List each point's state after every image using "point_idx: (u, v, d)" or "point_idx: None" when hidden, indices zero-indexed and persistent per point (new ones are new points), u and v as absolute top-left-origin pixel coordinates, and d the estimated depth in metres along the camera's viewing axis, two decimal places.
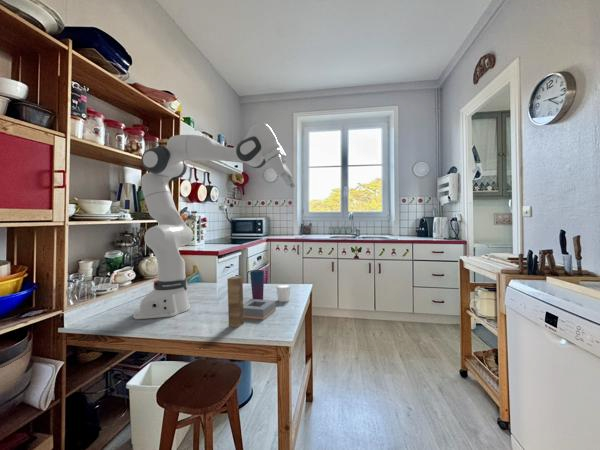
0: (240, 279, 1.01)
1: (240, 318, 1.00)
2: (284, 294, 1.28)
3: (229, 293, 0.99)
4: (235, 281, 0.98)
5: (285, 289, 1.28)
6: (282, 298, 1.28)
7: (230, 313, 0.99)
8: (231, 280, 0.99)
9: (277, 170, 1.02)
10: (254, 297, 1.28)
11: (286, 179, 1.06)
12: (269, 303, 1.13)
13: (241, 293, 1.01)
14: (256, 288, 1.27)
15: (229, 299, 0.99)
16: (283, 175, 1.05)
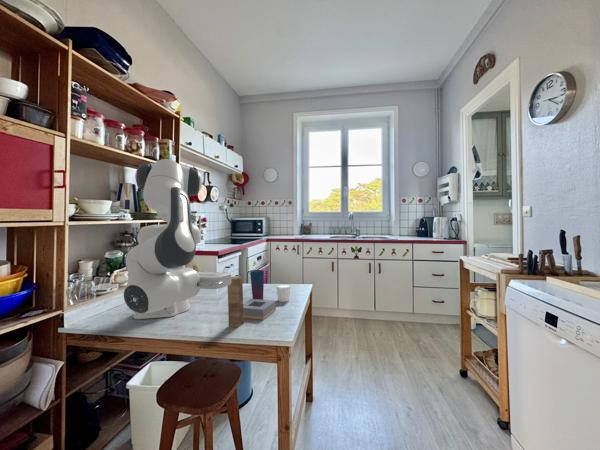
0: (240, 279, 1.01)
1: (240, 318, 1.00)
2: (284, 294, 1.28)
3: (229, 293, 0.99)
4: (235, 281, 0.98)
5: (285, 289, 1.28)
6: (282, 298, 1.28)
7: (230, 313, 0.99)
8: (231, 280, 0.99)
9: None
10: (254, 297, 1.28)
11: None
12: (269, 303, 1.13)
13: (241, 293, 1.01)
14: (256, 288, 1.27)
15: (229, 299, 0.99)
16: None
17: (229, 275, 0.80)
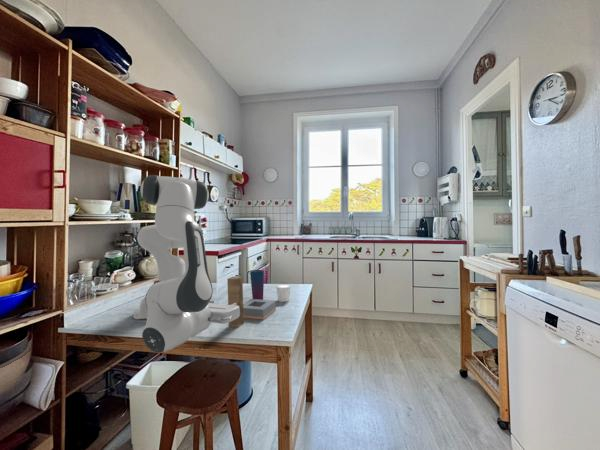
0: (240, 279, 1.01)
1: (240, 318, 1.00)
2: (284, 294, 1.28)
3: (229, 293, 0.99)
4: (235, 281, 0.98)
5: (285, 289, 1.28)
6: (282, 298, 1.28)
7: None
8: (231, 280, 0.99)
9: None
10: (254, 297, 1.28)
11: None
12: (269, 303, 1.13)
13: (241, 293, 1.01)
14: (256, 288, 1.27)
15: (229, 299, 0.99)
16: None
17: (238, 308, 0.84)
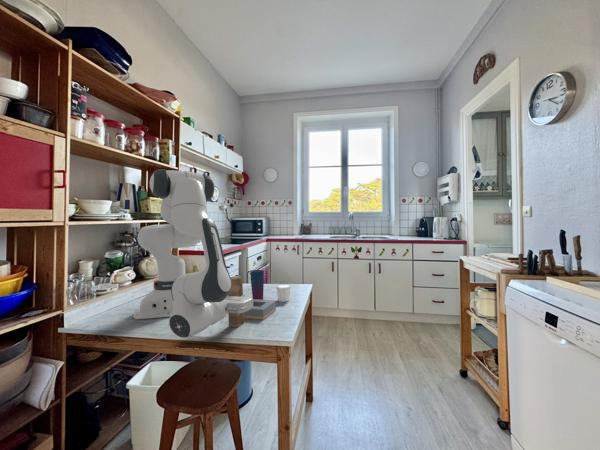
0: (240, 279, 1.01)
1: (240, 318, 1.00)
2: (284, 294, 1.28)
3: (229, 293, 0.99)
4: (235, 281, 0.98)
5: (285, 289, 1.28)
6: (282, 298, 1.28)
7: (230, 313, 0.99)
8: (231, 280, 0.99)
9: None
10: (254, 297, 1.28)
11: None
12: (269, 303, 1.13)
13: (241, 293, 1.01)
14: (256, 288, 1.27)
15: None
16: None
17: (251, 300, 0.92)
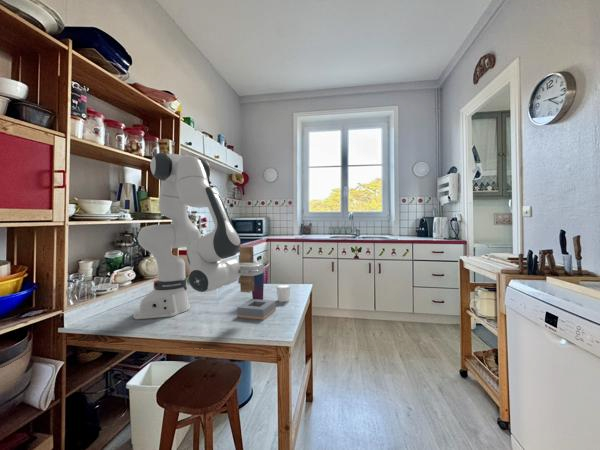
0: (251, 248, 1.07)
1: (251, 284, 1.07)
2: (284, 294, 1.28)
3: (241, 261, 1.06)
4: (247, 249, 1.05)
5: (285, 289, 1.28)
6: (282, 298, 1.28)
7: (242, 279, 1.06)
8: (243, 248, 1.05)
9: None
10: (254, 297, 1.28)
11: None
12: (269, 303, 1.13)
13: (252, 261, 1.08)
14: (256, 288, 1.27)
15: None
16: None
17: (262, 265, 0.99)
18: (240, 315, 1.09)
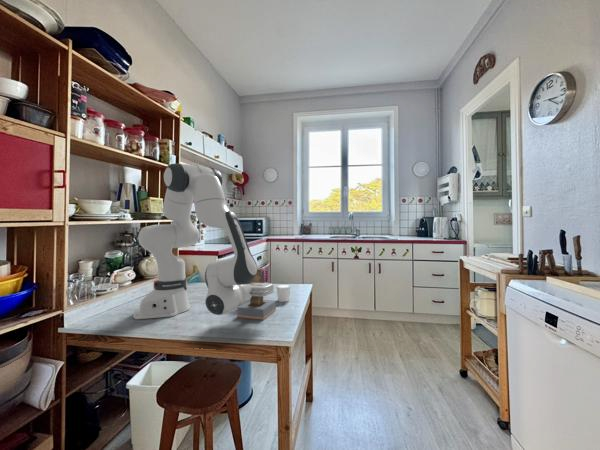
0: (260, 270, 1.13)
1: (260, 304, 1.12)
2: (284, 294, 1.28)
3: None
4: None
5: (285, 289, 1.28)
6: (282, 298, 1.28)
7: (252, 300, 1.11)
8: None
9: None
10: None
11: None
12: (269, 303, 1.13)
13: None
14: None
15: None
16: None
17: (272, 285, 1.04)
18: (240, 315, 1.09)
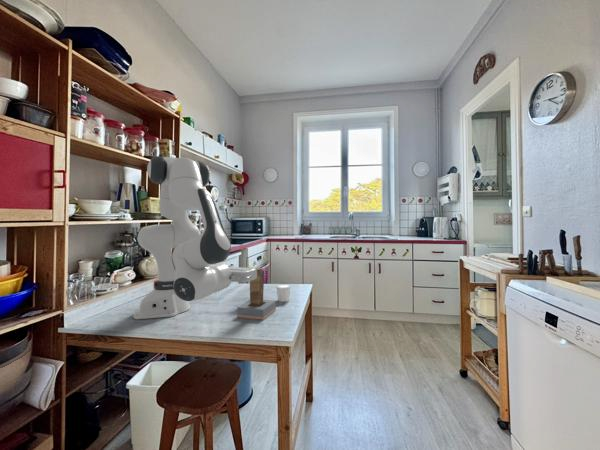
0: (260, 270, 1.13)
1: (260, 304, 1.12)
2: (284, 294, 1.28)
3: (251, 282, 1.11)
4: None
5: (285, 289, 1.28)
6: (282, 298, 1.28)
7: (252, 300, 1.11)
8: None
9: None
10: None
11: None
12: (269, 303, 1.13)
13: (261, 283, 1.13)
14: None
15: (251, 288, 1.11)
16: None
17: (255, 270, 0.92)
18: (240, 315, 1.09)
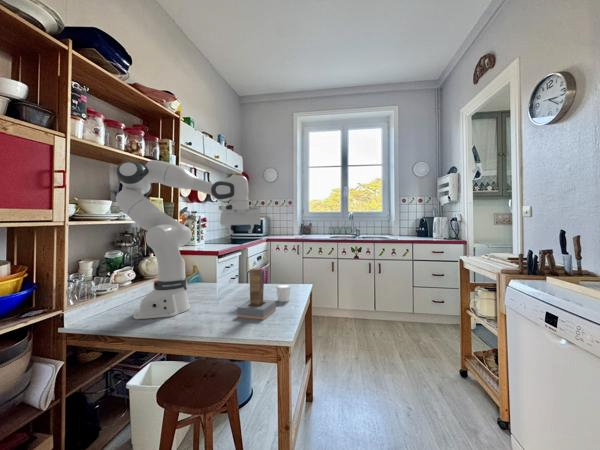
0: (260, 270, 1.13)
1: (260, 304, 1.12)
2: (284, 294, 1.28)
3: (251, 282, 1.11)
4: (256, 272, 1.10)
5: (285, 289, 1.28)
6: (282, 298, 1.28)
7: (252, 300, 1.11)
8: (253, 271, 1.11)
9: None
10: None
11: (229, 230, 1.33)
12: (269, 303, 1.13)
13: (261, 283, 1.13)
14: None
15: (251, 288, 1.11)
16: (227, 226, 1.33)
17: None
18: (240, 315, 1.09)
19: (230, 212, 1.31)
